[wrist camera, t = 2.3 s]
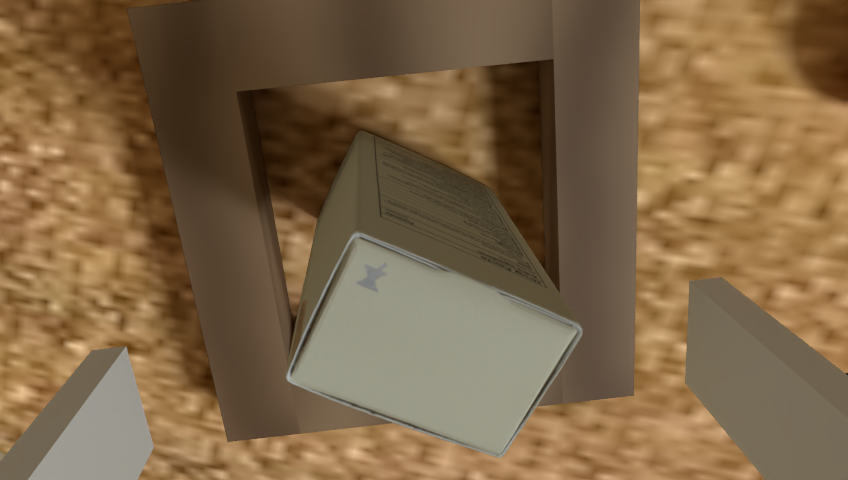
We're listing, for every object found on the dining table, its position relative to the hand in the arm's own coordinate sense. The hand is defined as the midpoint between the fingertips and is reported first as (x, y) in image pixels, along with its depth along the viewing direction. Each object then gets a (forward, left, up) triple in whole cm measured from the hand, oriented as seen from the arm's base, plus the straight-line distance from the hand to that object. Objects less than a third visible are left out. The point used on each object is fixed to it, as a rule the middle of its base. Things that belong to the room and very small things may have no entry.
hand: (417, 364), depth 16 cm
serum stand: (0, 0, -12) cm, 12 cm away
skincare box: (0, 0, -13) cm, 13 cm away
